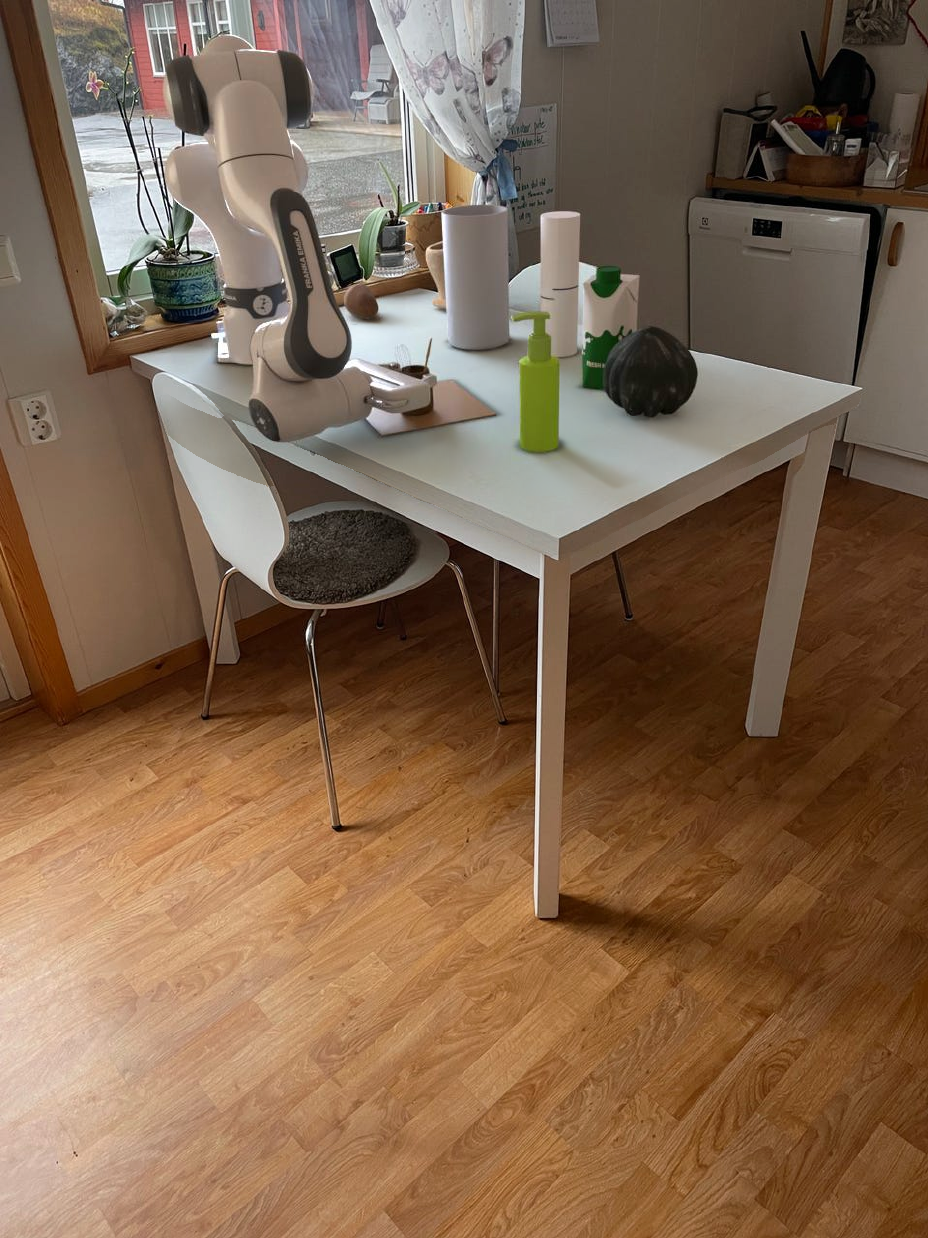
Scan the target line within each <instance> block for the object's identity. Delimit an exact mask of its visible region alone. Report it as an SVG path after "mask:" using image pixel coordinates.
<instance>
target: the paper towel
mask: <svg viewBox="0 0 928 1238" xmlns="http://www.w3.org/2000/svg"><path fill="white" fill-rule="evenodd" d="M433 399H434V407H433V410H432V411H431V412H429V413H427V414H423V415H406V414H403V413H388V412H385V411H383V410H380V409H378V408H375V407H372V411H371V413H370V415H369V416H368V417H367V418H365V419H364V420H366V421H367V422H368V424H370V426H371V427H372V428H373V429H374V430H375V431H376V432H377V433H378V434H379V435H380V436H381V437H386V436H392V435H396V434H402V433H406V432H412V431H419V430H423V429H428V428H435V427H439V426H445V425H450V424H456V423H460V422H465V421H471V420H477V419H481V418H486V417H492V416H496V415H497V413H496V412H495V411H493V410H492V409H491V408H489V407H488V406H486V405H485V404H484V403H483V402H481V401H480V400H479V399H477V398H476V397H475V396H473V395H472V394H470V393H469V392H468V391H467V390H465V389H464V388H463V387H462V386H460V385H459V384H458V383H456V382H455V381H453V379H449V380H443V381H437V385H436V386H434V387H433Z"/></svg>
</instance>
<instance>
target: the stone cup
mask: <svg viewBox="0 0 928 1238" xmlns="http://www.w3.org/2000/svg"><path fill="white" fill-rule="evenodd" d="M425 261H426V265H427V268H428V270H429V272H430V274H431V277H432V279H433V280H434V283H435V285H436V289H437V292H438V293H437V297H435V298H434V299H432V300H431V304H432V305H433V306H434V307H437V308H439V309H444V310H446V291H445V271H444V252H443V240H441V241H439V242H436V243H433V244H431V245H429V246H428V247H427V248H426V250H425Z"/></svg>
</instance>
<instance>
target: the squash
mask: <svg viewBox="0 0 928 1238" xmlns="http://www.w3.org/2000/svg"><path fill="white" fill-rule="evenodd" d="M698 376H699V371H698V366H697V362H696V359H695V358H694V356H693V354H692V353H691V351H690V350H689V348H688V347H687V346H686V345H685V344H684V343H683V342H682V341H680V339H678V338H677V337H676V336H675V335H674V334H673V335H672V334H671V333H670V332H668V331H667V330H664V329H663V328H660V327H657V326H654V325H646V326H643V327H641V328H639V329H637V330H636V331H635V332H633V333H631V334H629V335H628V336H626V337H625V338H623V339H622V340H620V341H619V342H618V343H617V344H616V345H615V346H614V347H613V349H612V350H611V351H610V353H609V355H608V358H607V361H606V364H605V367H604V373H603V384H604V389H603V390H604V391H605V394H606V395H607V397H608V399H610V400H611V401H612V402H613V403H614V404H615V406H617V407H619V408H621V409H623V410H624V411H625V412H626V414H627V415H629V416H630V417H639V416H641V415H643V416H645V417H646V418H648V419H650V418H655V417H656V416H658V415H659V414H660V415H665V416H667V415H673V414H675V413H676V412H678V411H679V409H681V407H682V406H684V405H685V404H686V403H688V401H689V400H690V398H691V397H692V396H693V394H694V391H695V389H696V387H697V381H698Z"/></svg>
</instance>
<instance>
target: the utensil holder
mask: <svg viewBox="0 0 928 1238" xmlns="http://www.w3.org/2000/svg"><path fill="white" fill-rule="evenodd" d="M432 341H433V337H431V338H430V339H429V341H428V347H427V351H426V356H425V362H424V365H422V364H412V363H411V362H412V361H411V358H408V357H411V356H410V352H409V349H408V348H407V347H405V345H404V344H398V345H397V346H396V347H395V349H394V350H396V352H398V356H399V357H402V356H401V354H400V353H401V351H400V350H401V349H402V354H404V355H403V356H404V357H403V358H405V360H404V361H405V362H406V363H408V362H409V363H408V364H405V365H404V363H403V360H402V358H400V361H401V362H400V363H401V364H400V363H399V361H398V358H397V357H398V356H397V354H394V357H395V359H396V363H398V365H399V364H400V365H399V366H401V365H402V366H401V367H400V369H399V373H402V374H405V375H408V376H411V377H414V378H417V379H420V380H421V379H423V375H427V374H431V372H430V368H429V367H428V362H429V358H430V354H431V348H432V343H433V342H432ZM399 347H401V349H399ZM404 347H405V348H404ZM405 349H406V350H405ZM406 352H407V354H408V357H407V356H406V355H407V354H406ZM407 359H408V360H409V361H408V360H407ZM433 407H434V399H433V387H431V388H430V403H429V405H428V406H426V407H423V408H419V409H415V410H411V411H407V412H403V414H406V415H423V414H427V413H429V412H431V411H432V410H433Z"/></svg>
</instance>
